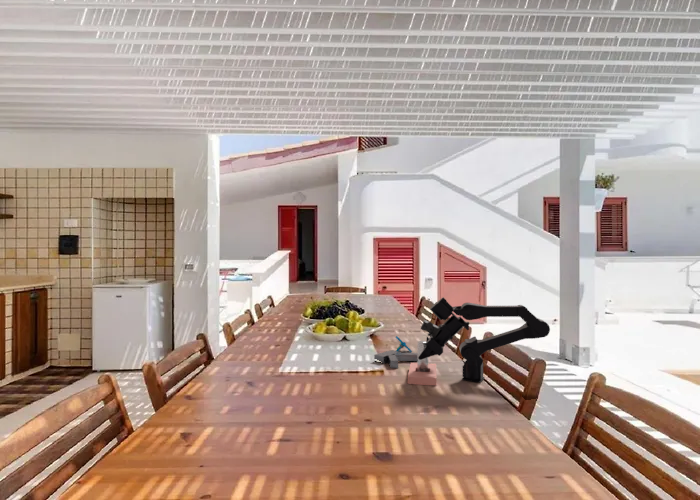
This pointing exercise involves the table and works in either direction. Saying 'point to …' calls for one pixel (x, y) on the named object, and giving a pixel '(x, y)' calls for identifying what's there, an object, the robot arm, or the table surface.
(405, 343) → the gear
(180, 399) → the table surface
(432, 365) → the beam plate
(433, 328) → the robot arm
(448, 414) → the table surface
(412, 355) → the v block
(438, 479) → the table surface
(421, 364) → the axle
